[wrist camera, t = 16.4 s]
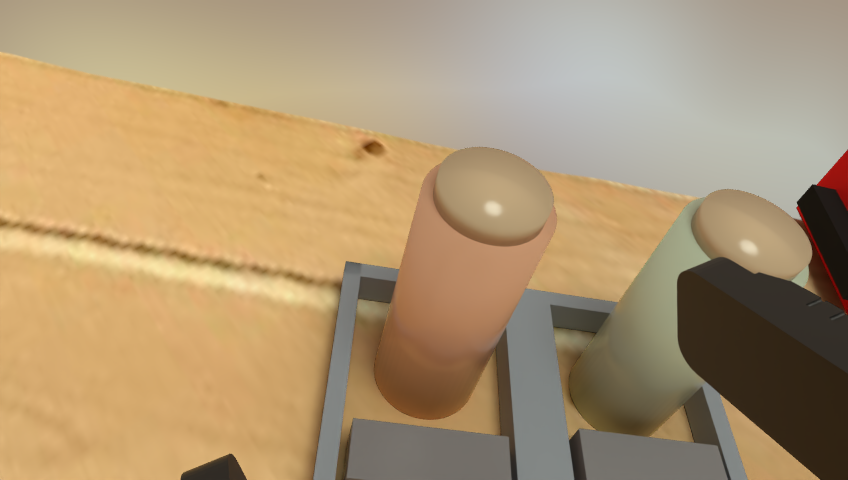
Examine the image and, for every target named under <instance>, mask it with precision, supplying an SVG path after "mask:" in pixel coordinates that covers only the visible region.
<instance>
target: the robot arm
mask: <svg viewBox="0 0 848 480" xmlns="http://www.w3.org/2000/svg"><path fill="white" fill-rule="evenodd" d="M677 337H678V345H679V348H680V351H681V353H682V355H683V357H684V359H685V361H686V362H687V364H688V365H689V367H690V368H691V369H692V370H693V371H694V372H695V373H696V374H697V375H698V376H700V377H701V378H702V379H703V380H704V381H705V382H707V383H708V384H709V385H710V386H711V387H712V388H714V389H715V390H716V391H717V392H718V393H719V394H721V395H722V396H723V397H724V398H725V399H727V400H728V401H729V402H730V403H731V404H732V405H734V406H735V407H736V408H737V409H738V410H739V411H741V412H742V413H743V414H744V415H745V416H746V417H748V418H749V419H750V420H751V421H752V422H753V423H755V424H756V425H757V426H758V427H759V428H760V429H762V430H763V431H764V432H765V433H766V434H768V435H769V436H770V437H771V438H772V439H773V440H775V441H776V442H777V443H778V444H779V445H780V446H782V447H783V448H784V449H785V450H786V451H787V452H789V453H790V454H791V455H792V456H793V457H794V458H796V459H797V460H798V461H799V462H800V463H801V464H803V465H804V466H805V467H806V468H807V469H809V470H810V471H811V472H812V473H813V474H814V475H816V476H817V477H818V478H819V479H820V480H848V315H846V314H845V313H844V311H843V310H842V309H840V308H838V307H836V306H835V305H833V304H831V303H829V302H827V301H825V302H823V301H822V300H821V298H820V297H819V296H817V295H815V294H813V293H812V292H810V291H808V290H806V289H805V288H803V287H801V286H799V285H798V284H796V283H794V282H792V281H788V280H785V279H781V278H778V277H774V276H771V275H767V274H764V273H760V272H758V273H756V274H754V273H752V272H750V271H749V270H747V269H745V268H744V267H742V266H740V265H739V264H737V263H735V262H734V261H732V260H730V259H728V258H725V257H717V258H714V259H712V260H710V261H707V262H705V263H702V264H700V265H697V266H695V267H692V268H690V269H687V270H685V271H683V272H681V273H680V274H679V276H678V279H677ZM181 480H247V479H246V477H245V475H244V473H243V471H242V469H241V467H240V465H239V464H238V462H237V460H236V458H235V457H234V456H233V455H232V454H228V455H226V456H223V457H221V458H218V459H216V460H213V461H211V462H208V463H206V464H204V465H201V466H199V467H196V468H194V469H191V470H189V471H186V472H184V473H183V474H182V476H181Z"/></svg>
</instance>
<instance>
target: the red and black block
mask: <svg viewBox="0 0 848 480" xmlns="http://www.w3.org/2000/svg"><path fill="white" fill-rule="evenodd" d="M797 204H798V207H797V208H796V209H797V210H798V213H799V215H800V217H801V219H802V220H803V222H804V224H805V226H806V228H807V231H808V233H809V235H810V237H811V239H812V241H813V243H814V245H815V247H816V250H817V252H818V254H819V256H820V258H821V260H822V262H823V264H824V266H825V269H826V271H827V273H828V275H829V277H830V279H831V281H832V283H833V285H834V287H835V290H836V292H837V294H838V296H839V298H840V300H841V302H842V304H843V306H844V309H845V311H846V313H847V315H848V150H847V151H846V152H845V153H844V154H843V156H842V157H841V158H840V159H839V160H838V161H837V163H836V164H835V165H834V166H833V167H832V168H831V169H830V170H829V171H828V173H827V174H826V175H825V176H824V177H823V178H822V179H821V181H820V182H819V183H818V184H817V185H812V186H811V187H810V188H809V189H808V190H807V191H806V192H805V194H804V195H803V196H802V197H801V198H800V199H799V200H798V201H797Z"/></svg>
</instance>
